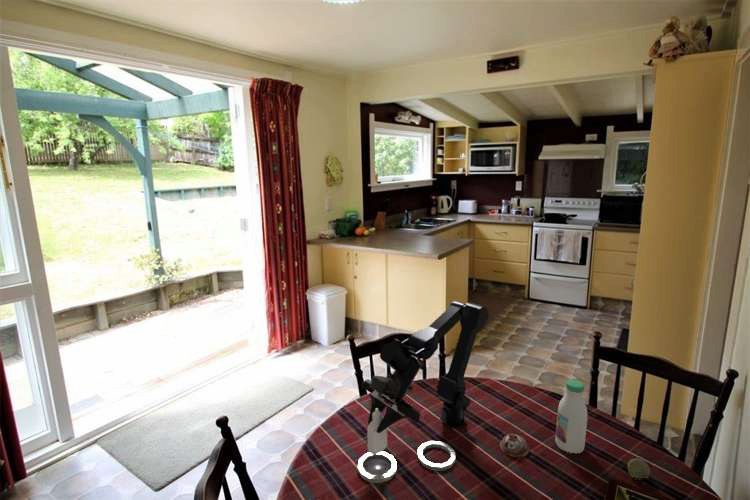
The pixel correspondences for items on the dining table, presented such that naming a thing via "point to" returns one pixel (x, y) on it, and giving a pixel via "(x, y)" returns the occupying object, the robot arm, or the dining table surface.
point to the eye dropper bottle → (376, 434)
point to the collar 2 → (433, 465)
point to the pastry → (514, 446)
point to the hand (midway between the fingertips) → (373, 429)
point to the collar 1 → (377, 467)
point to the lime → (638, 468)
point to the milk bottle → (572, 419)
